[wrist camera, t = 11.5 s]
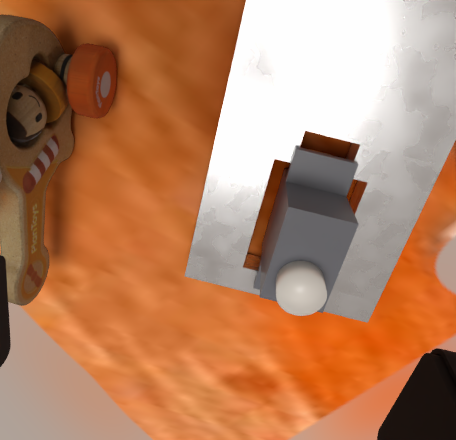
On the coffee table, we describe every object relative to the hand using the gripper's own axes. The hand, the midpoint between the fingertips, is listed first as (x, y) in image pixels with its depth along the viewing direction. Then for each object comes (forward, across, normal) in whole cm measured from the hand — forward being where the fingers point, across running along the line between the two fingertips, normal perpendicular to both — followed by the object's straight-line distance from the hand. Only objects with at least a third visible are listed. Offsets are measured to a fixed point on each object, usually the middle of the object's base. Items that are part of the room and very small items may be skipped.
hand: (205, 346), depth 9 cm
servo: (+24, -6, +7) cm, 26 cm away
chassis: (+24, -6, +2) cm, 25 cm away
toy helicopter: (+25, +14, +6) cm, 29 cm away
